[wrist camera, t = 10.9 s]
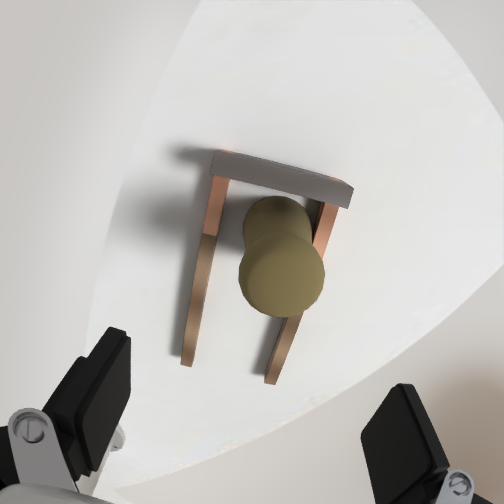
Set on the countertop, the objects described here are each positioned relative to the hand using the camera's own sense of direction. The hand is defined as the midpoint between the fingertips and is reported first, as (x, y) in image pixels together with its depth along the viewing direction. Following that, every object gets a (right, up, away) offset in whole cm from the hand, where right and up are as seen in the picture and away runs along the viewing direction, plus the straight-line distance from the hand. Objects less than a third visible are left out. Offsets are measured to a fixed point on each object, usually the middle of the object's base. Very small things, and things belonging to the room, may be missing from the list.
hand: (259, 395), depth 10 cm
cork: (+2, +7, +18) cm, 20 cm away
